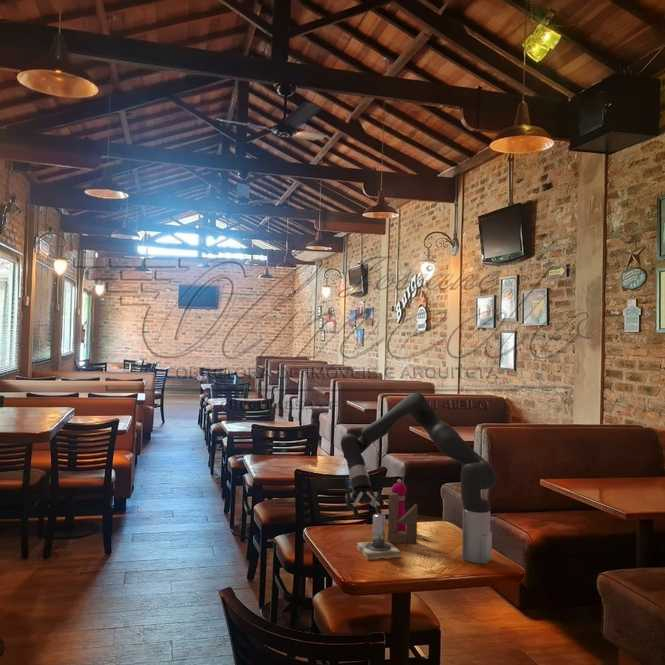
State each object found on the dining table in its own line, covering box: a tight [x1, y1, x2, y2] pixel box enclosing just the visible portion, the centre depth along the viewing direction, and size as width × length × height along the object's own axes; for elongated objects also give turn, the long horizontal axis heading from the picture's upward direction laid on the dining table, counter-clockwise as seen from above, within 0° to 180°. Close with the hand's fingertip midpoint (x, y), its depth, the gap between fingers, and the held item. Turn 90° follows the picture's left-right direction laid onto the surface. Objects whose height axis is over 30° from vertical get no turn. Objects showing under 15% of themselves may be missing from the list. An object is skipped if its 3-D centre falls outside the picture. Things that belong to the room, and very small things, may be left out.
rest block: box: [356, 540, 401, 561], centre depth 210 cm, size 12×12×2 cm
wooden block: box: [386, 492, 418, 545], centre depth 223 cm, size 4×11×18 cm, turn 89°
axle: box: [371, 513, 386, 548], centre depth 210 cm, size 4×4×11 cm
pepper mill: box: [391, 478, 408, 532], centre depth 239 cm, size 7×7×20 cm
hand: (368, 516), depth 221 cm, fingers open, 8 cm apart
